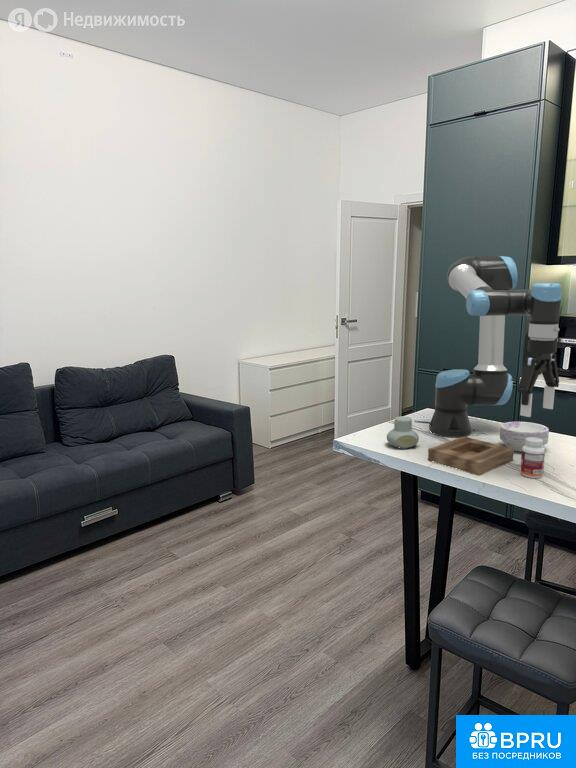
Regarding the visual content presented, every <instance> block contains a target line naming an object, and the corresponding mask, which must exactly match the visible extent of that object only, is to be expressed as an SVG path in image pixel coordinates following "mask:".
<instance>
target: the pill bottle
mask: <svg viewBox="0 0 576 768" xmlns="http://www.w3.org/2000/svg"><path fill="white" fill-rule="evenodd" d="M525 443H526V445H524V446H523V447H522V452H521V457H520V458H521V459H520V460H521V461H520V474H521V475H522V476H523V477H526V478H529V479H541V478H542V477H543V476H544V469H545V457H546V456H545V455H546V450H545V448H544V445H543V440H542V439H540V438H535V437H528V438H526V440H525Z"/></svg>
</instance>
